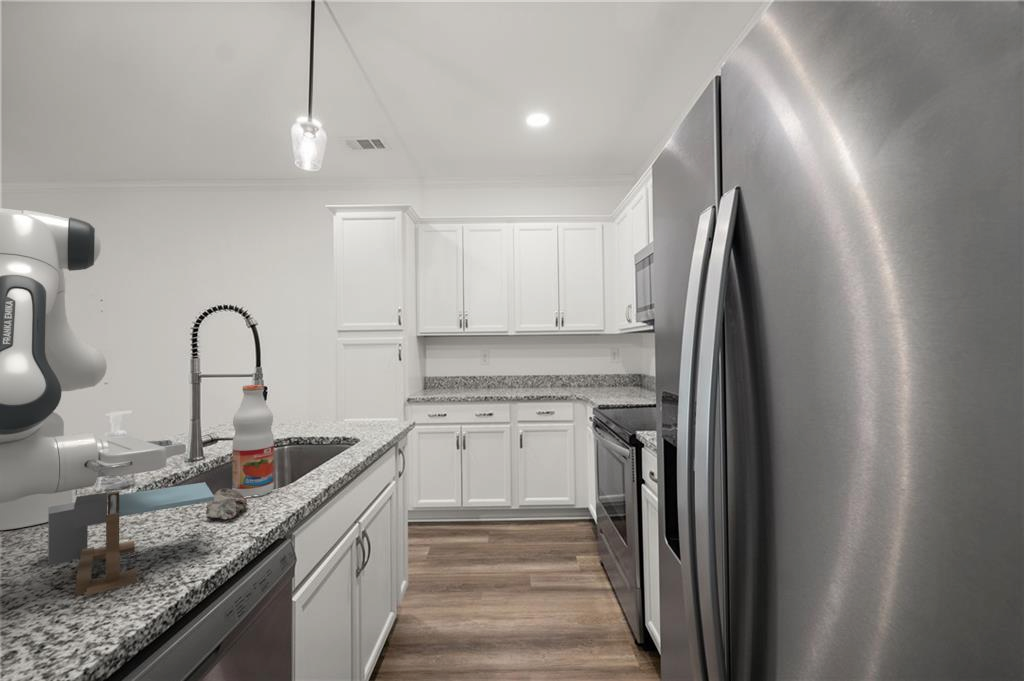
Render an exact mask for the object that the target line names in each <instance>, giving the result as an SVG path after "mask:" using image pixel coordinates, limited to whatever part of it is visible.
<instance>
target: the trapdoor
mask: <svg viewBox="0 0 1024 681" xmlns="http://www.w3.org/2000/svg"><path fill="white" fill-rule="evenodd" d="M108 493H109V492H101V493H95V494H94V493H93V494H87V495H80V496H78V495H77V498H76V501H75V505H74V524H73V528H77V527H83V526H95V525H100V524H106V515H108ZM214 495H215V494H213V492H212V491H211V489H210V488H209V486H208V485H207V483H206V482H205V481H204V482H198V483H191V484H183V485H178V486H169V487H164V488H155V489H149V490H143V491H134V492H130V493H128V492H127V493H121V494H120V493H119V518H120V517H126V516H132V515H138V514H143V513H145V514H146V513H151V512H156V511H162V510H169V509H173V508H180V507H185V506H192V505H197V504H203V503H207V502H210V501H214ZM114 513H116V495H112V496H111V501H110V514H114Z"/></svg>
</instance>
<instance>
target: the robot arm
mask: <svg viewBox="0 0 1024 681" xmlns="http://www.w3.org/2000/svg"><path fill="white" fill-rule="evenodd" d="M95 230H96V228H94V226H93V225H92V224H91V223H89V222H87V221H84V220H81V219H77V218H75V217H69V218H66V217H64V216H58V215H56V214H50V213H46V212H45V213H44V212H41V211H40V212H39V211H34V210H29V209H23V210H20V209H12V208H4V207H3V208H2V207H0V531H6V530H14V529H21V528H25V527H32V526H35V525H36V526H37V525H40V524H45V523H48V507H52V506H58V505H63V504H69V503H74V502H75V501H76V498H77V497H78V495H77V493H78V491H77V490H80V489H85V488H90V487H93V486H95V485H96V483H97V480H98V478H102V477H106V476H107V477H118V476H127V475H128V476H129V475H133V474H134V475H135V474H140V473H145V472H146V473H147V472H152V471H153V472H154V471H158V470H161V469H164V468H166V467H167V459H170V458H172V457H174V456H178V455H179V456H180V455H184V454H185V453H186V452H187V445H186V444H185V443H182V442H181V443H173V441H172V440H169V439H161V440H142V439H140V438H136V437H133V436H129V435H113V436H96V437H95V435H94V434H93V433H92V432H84V433H83V432H82V433H77V434H75V433H74V434H65V432H64V430H65V426H64V425H65V424H64V423H65V421H64V419H63V418H62V417H61V416H60V414H58V413H56V412H55V410H56V409H57V408H58V406H59V404H60V402H61V399H62V392H71V391H77V390H83V389H87V388H91V387H92V388H93V387H95V386H97V385H98V384H99V383H100V382H101V381H102V380H103V379H104V377H105V375H106V372H107V366H108V365H107V361H106V358H105V356H104V355H103V353H102V352H101V351H100V350H99V349H98V348H96V347H94V346H92V345H90V344H89V343H87V342H85V341H84V340H82V339H81V338H80V337H78V336H77V334H75V332H74V331H73V329H72V328H71V326H70V323H69V322H68V318H67V313H66V312H67V310H66V299H65V298H66V297H65V296H66V293H65V290H66V288H65V287H66V286H65V281H66V280H65V272H64V270H68V271H70V272H71V271H81V270H82V271H83V270H88V269H89V268H91V267H93V266H94V265H95V262H96V261H97V260H98V259H99V256H100V255H101V254H100V253H101V248H102V247H101V240H100V237H99V235H98V233H97V232H96V231H95ZM64 434H65V435H64Z"/></svg>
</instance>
